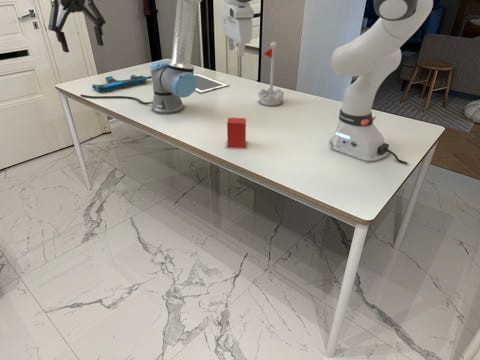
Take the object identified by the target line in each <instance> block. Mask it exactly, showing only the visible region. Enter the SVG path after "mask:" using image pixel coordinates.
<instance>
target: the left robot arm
mask: <svg viewBox="0 0 480 360" xmlns="http://www.w3.org/2000/svg"><path fill="white" fill-rule="evenodd" d="M202 1H203V0H176V10H175V22H174V31H173V42H172V52H171V60H162V61H155V62H152V63H151V64H150V68H149V69H150V76H151V77H152V78H151V82H152V83H151V84H152V88H153V98H152V101H147V102H145V101H142V100H140V99H139V98H137V97H134V96H125V95H102V96H101V95H99V96H96V95H87V94H80V97H84V98H90V99H131V100H135V101H137V102H139V103H140V104H142V105H151V107H152V108H151V109H152V111H153V112H155V113H157V114H161V115H170V114H174V113H175V114H176V113H178V112H180V111H182V110H183V109H184V104H183V101H182V98H183V99H185V98H188V97H190V96H191V95H192V94H194V92H196V91H195V89H196V86H197V80H196V78H195V76H194V71H195V70H194V69H195V67H194V66H193V64H192V58H193V50H194V41H195V33H196V24H197V14H198V7H199V6H198V5H199V4H200V3H201V2H202ZM85 4H87V6H88V7H89V9H90V10H89V9H88V8H87V7H86V6H85ZM50 5H51V8H50V15H49V20H48V27H47V30H48V31H50V32H51V31H52V32H54V33H55V37H56V39H57V42H58V43H60V45H61V48H62V52H64V53H70V50H69V46H68V42H67V38H66V35H65V32H64V31H63V28H64V26H65V24H66V21H67V19H68V17H69V15H70V14H75V13H82V14H83V15H85V17H87V18H88V19H89V20H90V21H91V22H92V23H93V24H94V26H93V29H94V34H95V39H96V43H97V45H98V46H100V47H103V46H104V41H103V36H104V31H103V26H104V25H106V20H105V18H104V16H103V15H102V14H101V12H100V10H99V9H98V7H97V5H96V4H95V1H94V0H50ZM60 6H62V8H61V12H60V14H59V11H60ZM90 11H92V13H91V12H90Z"/></svg>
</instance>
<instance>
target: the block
mask: <svg viewBox="0 0 480 360" xmlns="http://www.w3.org/2000/svg"><path fill="white" fill-rule="evenodd" d="M226 128H227V129H226V130H227V131H226V133H227V134H226V135H227V137H226V139H227V148H232V149H233V148H236V149H237V148H239V149H245V148H246V144H247V143H246V142H247V118H246V117H228V119H227V122H226Z"/></svg>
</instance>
